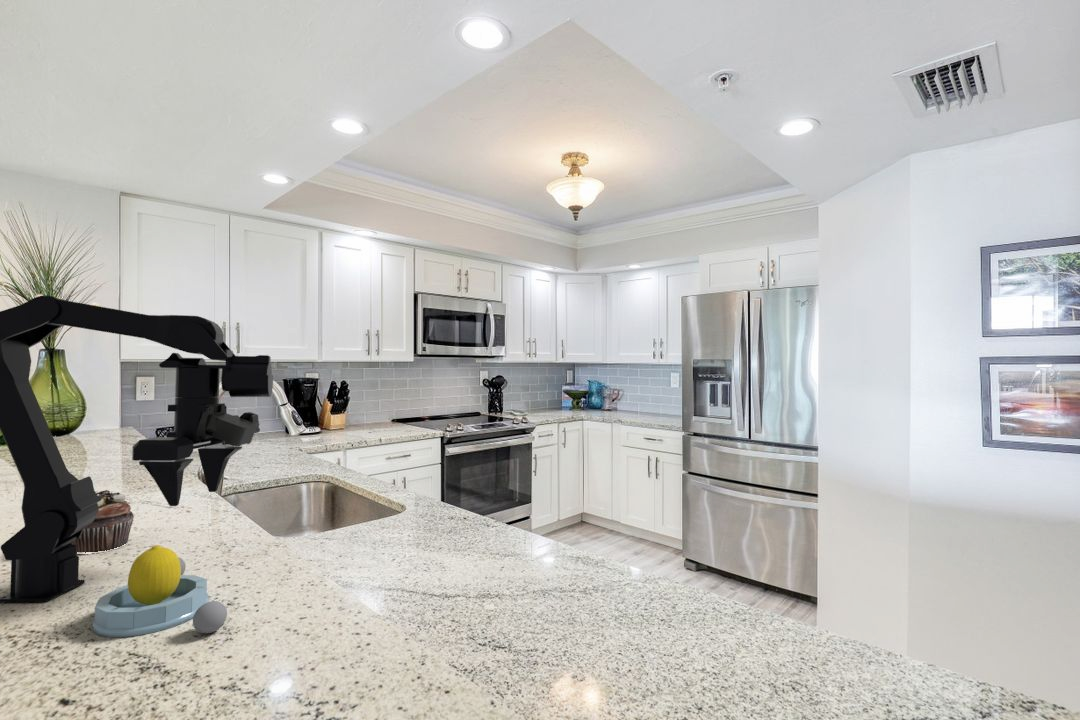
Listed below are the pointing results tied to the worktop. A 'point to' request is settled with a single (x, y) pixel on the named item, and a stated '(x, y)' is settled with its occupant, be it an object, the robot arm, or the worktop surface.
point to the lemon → (154, 575)
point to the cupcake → (107, 525)
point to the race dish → (148, 610)
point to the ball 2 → (209, 617)
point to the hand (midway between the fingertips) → (194, 498)
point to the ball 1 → (182, 565)
